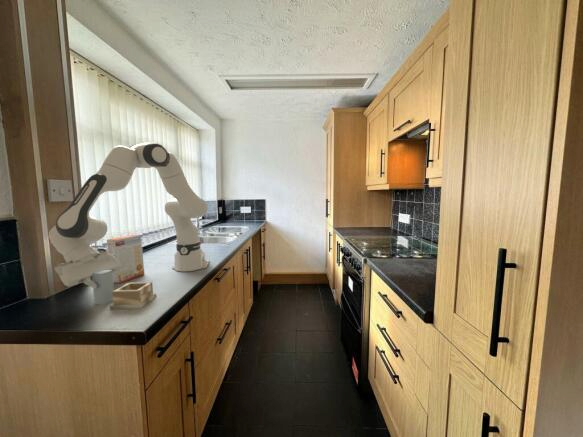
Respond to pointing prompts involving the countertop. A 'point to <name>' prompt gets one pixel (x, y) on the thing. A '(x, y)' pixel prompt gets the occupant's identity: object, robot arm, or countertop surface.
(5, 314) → the countertop surface
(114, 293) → the cup collar
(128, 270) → the cracker box
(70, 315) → the countertop surface
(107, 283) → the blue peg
